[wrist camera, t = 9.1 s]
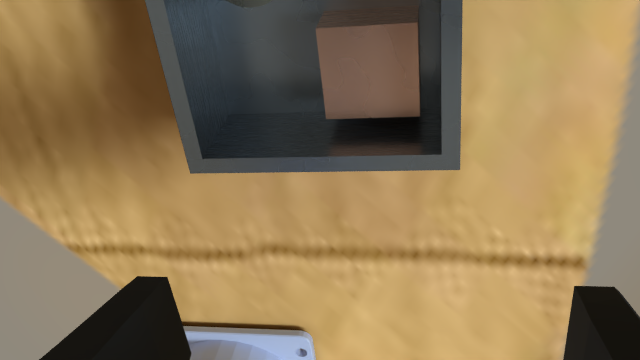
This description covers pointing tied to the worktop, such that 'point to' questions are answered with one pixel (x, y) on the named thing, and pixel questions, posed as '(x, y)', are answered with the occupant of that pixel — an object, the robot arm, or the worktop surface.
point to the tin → (313, 83)
